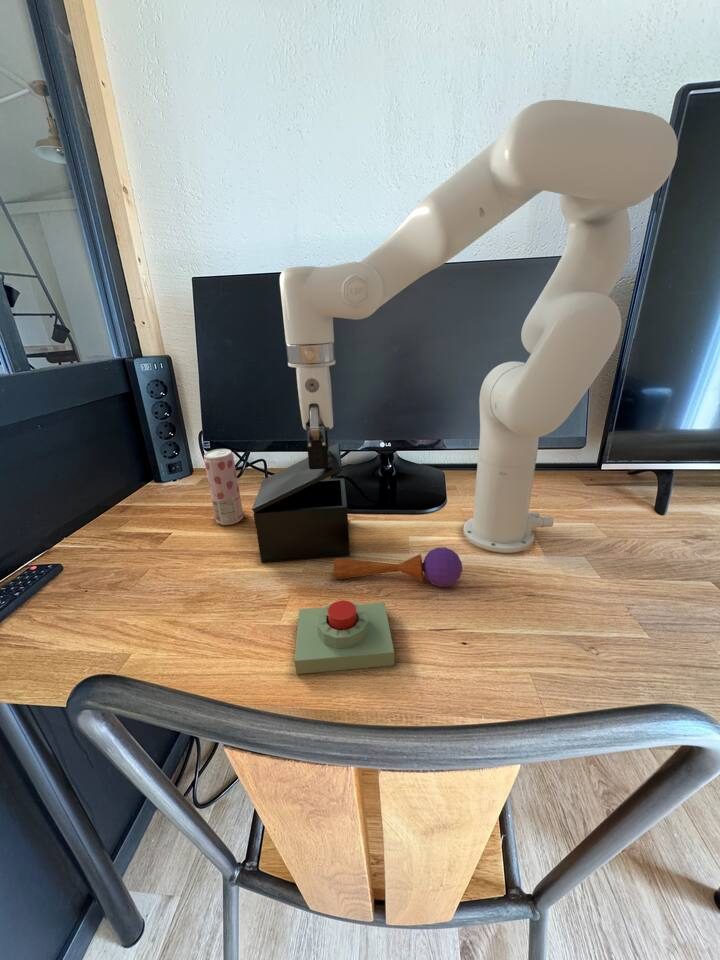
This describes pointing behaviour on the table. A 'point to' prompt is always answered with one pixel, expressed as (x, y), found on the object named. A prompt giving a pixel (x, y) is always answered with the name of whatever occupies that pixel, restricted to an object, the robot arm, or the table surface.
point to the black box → (305, 524)
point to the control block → (343, 640)
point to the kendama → (408, 567)
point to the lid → (295, 479)
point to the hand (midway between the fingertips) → (319, 459)
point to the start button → (342, 615)
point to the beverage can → (223, 486)
